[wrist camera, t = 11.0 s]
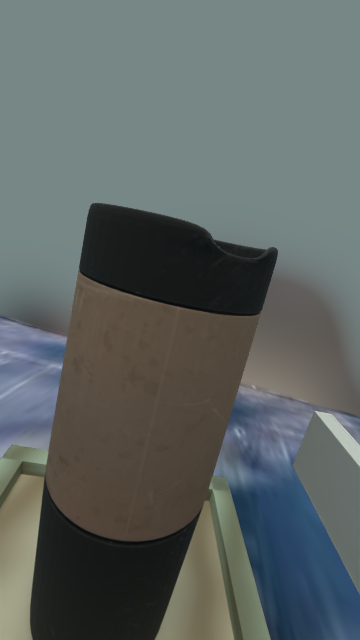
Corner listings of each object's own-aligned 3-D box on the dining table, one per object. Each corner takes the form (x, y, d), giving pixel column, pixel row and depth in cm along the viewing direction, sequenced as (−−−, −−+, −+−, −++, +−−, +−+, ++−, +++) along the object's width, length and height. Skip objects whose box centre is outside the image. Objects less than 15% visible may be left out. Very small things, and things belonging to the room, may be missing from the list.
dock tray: (217, 507, 27) (226, 477, 26) (318, 999, 9) (356, 955, 9) (7, 477, 25) (11, 444, 24) (-355, 1036, 7) (-384, 983, 7)
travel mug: (81, 513, 21) (138, 222, 16) (183, 563, 19) (278, 255, 15) (-17, 642, 14) (36, 186, 9) (133, 740, 12) (289, 242, 8)
